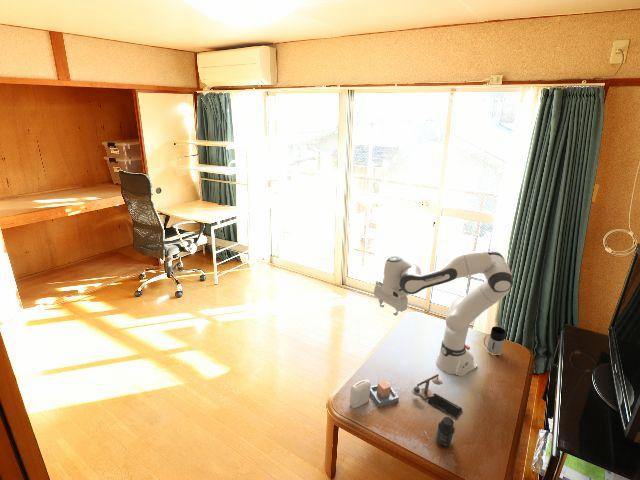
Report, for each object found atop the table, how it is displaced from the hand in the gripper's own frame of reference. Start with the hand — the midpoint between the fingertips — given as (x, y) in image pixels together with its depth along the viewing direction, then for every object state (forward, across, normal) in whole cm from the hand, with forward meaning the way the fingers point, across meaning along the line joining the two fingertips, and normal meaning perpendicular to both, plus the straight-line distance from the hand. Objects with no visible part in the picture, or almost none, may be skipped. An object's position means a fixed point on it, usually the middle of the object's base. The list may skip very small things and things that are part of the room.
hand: (388, 310), depth 192 cm
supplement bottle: (+35, +50, -14) cm, 63 cm away
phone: (+36, +38, +4) cm, 52 cm away
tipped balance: (+35, +28, +2) cm, 45 cm away
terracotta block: (+34, +16, -16) cm, 41 cm away
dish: (+35, +16, -16) cm, 42 cm away
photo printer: (+35, +12, -29) cm, 47 cm away
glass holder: (+35, +29, +61) cm, 76 cm away
